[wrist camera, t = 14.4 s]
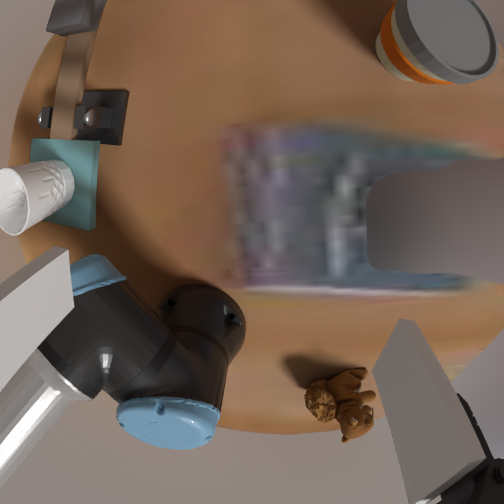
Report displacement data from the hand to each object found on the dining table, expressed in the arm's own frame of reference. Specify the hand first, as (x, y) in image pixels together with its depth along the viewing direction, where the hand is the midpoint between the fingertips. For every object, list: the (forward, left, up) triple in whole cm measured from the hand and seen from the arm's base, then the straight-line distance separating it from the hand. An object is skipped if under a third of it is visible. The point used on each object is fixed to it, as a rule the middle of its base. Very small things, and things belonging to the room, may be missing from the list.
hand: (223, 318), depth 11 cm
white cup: (-3, +27, -24) cm, 36 cm away
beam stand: (+6, +27, -32) cm, 42 cm away
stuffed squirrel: (-34, -22, -32) cm, 52 cm away
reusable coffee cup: (+24, -16, -32) cm, 43 cm away
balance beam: (+8, +27, -25) cm, 38 cm away
